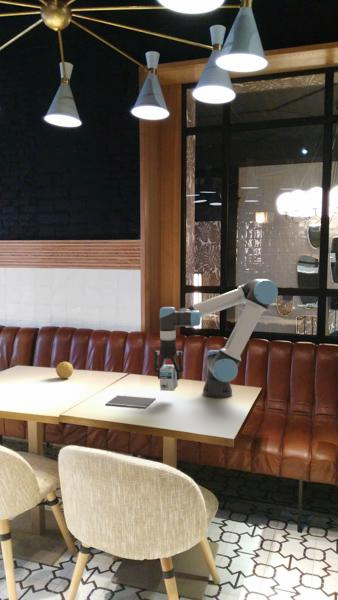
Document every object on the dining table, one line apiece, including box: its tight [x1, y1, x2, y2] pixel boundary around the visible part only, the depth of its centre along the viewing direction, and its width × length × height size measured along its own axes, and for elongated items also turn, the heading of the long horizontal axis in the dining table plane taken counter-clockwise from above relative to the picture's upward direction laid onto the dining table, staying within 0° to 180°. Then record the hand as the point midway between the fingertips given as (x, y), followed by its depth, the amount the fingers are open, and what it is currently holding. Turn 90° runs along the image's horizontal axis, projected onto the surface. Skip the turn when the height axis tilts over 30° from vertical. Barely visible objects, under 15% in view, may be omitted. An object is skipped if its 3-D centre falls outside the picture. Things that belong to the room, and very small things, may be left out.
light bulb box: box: [159, 363, 177, 392], centre depth 231 cm, size 11×7×11 cm, turn 168°
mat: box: [105, 394, 156, 409], centre depth 232 cm, size 20×16×1 cm
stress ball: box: [55, 361, 74, 380], centre depth 280 cm, size 10×10×10 cm
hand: (169, 385), depth 232 cm, fingers closed on light bulb box, 7 cm apart
